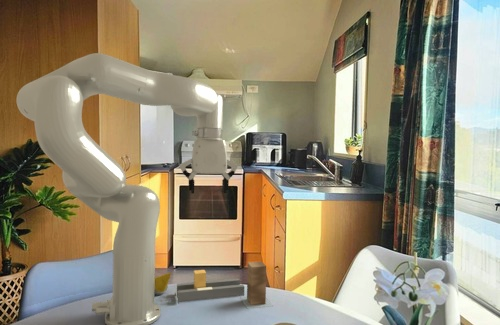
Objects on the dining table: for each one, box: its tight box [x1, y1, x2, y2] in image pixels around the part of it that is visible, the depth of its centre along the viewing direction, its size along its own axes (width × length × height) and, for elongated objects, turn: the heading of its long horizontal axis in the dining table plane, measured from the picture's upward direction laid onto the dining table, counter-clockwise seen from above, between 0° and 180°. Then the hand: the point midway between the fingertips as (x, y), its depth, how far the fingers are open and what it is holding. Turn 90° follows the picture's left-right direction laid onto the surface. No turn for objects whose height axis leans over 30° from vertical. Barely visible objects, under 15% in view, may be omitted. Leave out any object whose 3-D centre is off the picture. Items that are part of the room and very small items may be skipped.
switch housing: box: [176, 277, 245, 305], centre depth 93 cm, size 18×6×3 cm, turn 107°
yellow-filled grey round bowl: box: [154, 272, 172, 296], centre depth 93 cm, size 5×5×10 cm
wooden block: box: [246, 261, 267, 306], centre depth 88 cm, size 4×4×10 cm
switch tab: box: [193, 269, 207, 289], centre depth 92 cm, size 3×3×5 cm
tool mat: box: [240, 296, 274, 310], centre depth 88 cm, size 7×7×1 cm
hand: (208, 192), depth 98 cm, fingers open, 9 cm apart
